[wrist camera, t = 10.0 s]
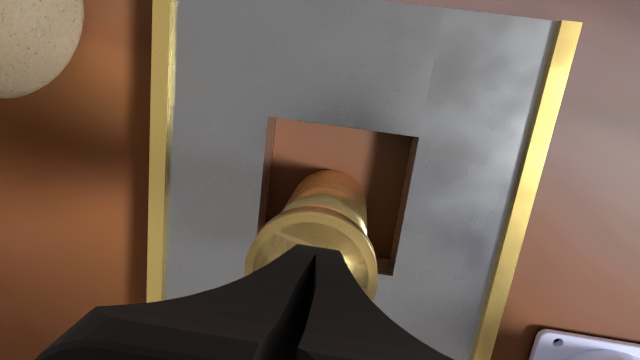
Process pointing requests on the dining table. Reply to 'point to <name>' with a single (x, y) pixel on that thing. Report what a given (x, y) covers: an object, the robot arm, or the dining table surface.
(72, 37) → the ceramic mug
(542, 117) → the jig
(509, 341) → the dining table surface
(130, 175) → the dining table surface
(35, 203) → the dining table surface
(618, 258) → the dining table surface
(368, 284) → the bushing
